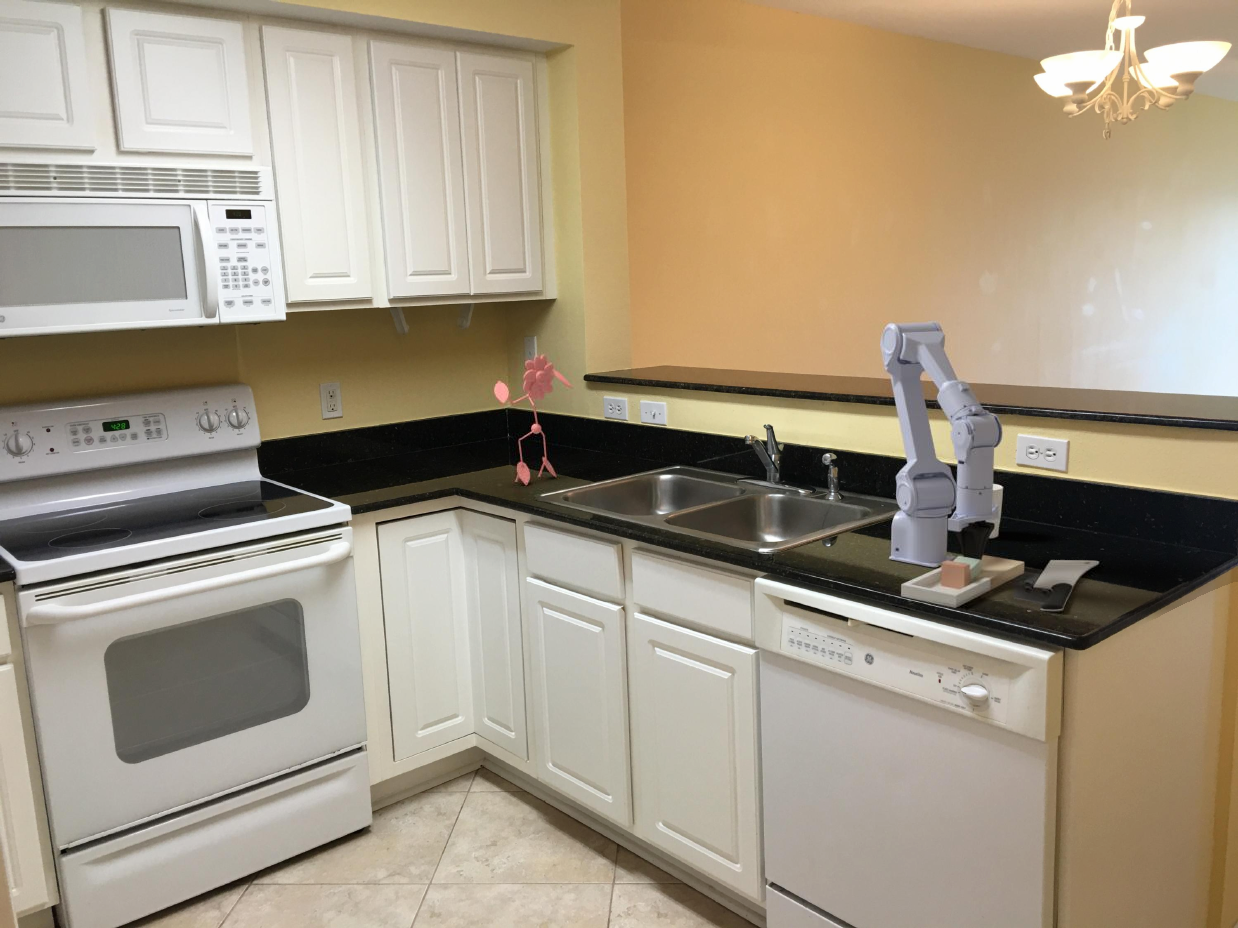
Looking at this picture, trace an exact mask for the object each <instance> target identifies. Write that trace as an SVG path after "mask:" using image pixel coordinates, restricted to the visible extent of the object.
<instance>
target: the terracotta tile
mask: <svg viewBox="0 0 1238 928" xmlns="http://www.w3.org/2000/svg"><path fill="white" fill-rule="evenodd" d="M940 567H941V586H944V587H949V588H954V589H959V590H960V589H962V588H964V587H966V586H968V585H969V581H970V564H966V563H960V562H955V561H953V560H952V561H949V560H947V561H944V562H942V564H941V565H940Z"/></svg>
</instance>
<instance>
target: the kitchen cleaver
mask: <svg viewBox="0 0 1238 928" xmlns="http://www.w3.org/2000/svg"><path fill="white" fill-rule="evenodd" d="M1099 564H1100V561H1098V560H1087V559H1086V560H1085V559H1084V560H1083V559H1082V560H1077V559H1075V560H1074V559H1073V560H1070V559H1069V560H1068V559H1067V560H1065V559H1060V560H1059V559H1058V560H1057V559H1056V560H1055V559H1050V560H1049V562H1048V564H1047V565H1046V567H1045V568H1044V570H1043V571H1042V572H1041V574H1040V576H1039V577H1038V579H1037V580H1036V581H1035V583H1034V585H1033V588H1037V589H1038V588H1039V589H1043V590H1049V591H1050V590H1051V594H1050V595H1049V597H1048V598H1047V600H1046V601H1045V602H1044V603H1043V604H1042V605H1041V606H1040V611H1041V612H1043V613H1047V614H1048V613H1049V614H1061V613H1062V612H1064V609H1065V606H1066V604H1067V602H1068V600H1069V598H1070V596H1071V594H1072V592H1073V589H1074V586H1075V585H1076V583H1077V581H1079V579H1080V578H1081V577H1082V576H1083V575H1084V574H1085V573H1087V571H1089V570H1091V569H1092V568H1094V567H1096V566H1098V565H1099Z"/></svg>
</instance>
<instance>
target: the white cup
mask: <svg viewBox="0 0 1238 928" xmlns="http://www.w3.org/2000/svg"><path fill="white" fill-rule="evenodd" d="M1003 491H1004V486H1002V485H1000V484H998V483H997V484H996V483H993V500H992V504H993V505H999V518H997V519H995V520H991V519H988V520H986V522H991V523H994V524H995V528H994V530H993V531H992V533H991V534H990V536H989V538H988V539H995V538H997V537H999V529H1000V528H999V527H1000V522H1001V515H1002V505H1003V494H1004V493H1003Z"/></svg>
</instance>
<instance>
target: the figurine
mask: <svg viewBox="0 0 1238 928" xmlns="http://www.w3.org/2000/svg"><path fill="white" fill-rule="evenodd" d="M524 363H525V364H524V366H525V369H526V370H527V371H526V372H525V373H524V375H523V380H524V383H523V386H522V391H523V392H524V393H527V394H526V395H524V396H522V397H520V398H519V399H516V400H514V401H513V400H512V398H511V396H510V395H509V393H510V392H509V388H508V386H507V385H506V384H505V383H504V382H502V381H501V380H498V381H497V383H495V385H494V389H493V390H494V391H493V393H494V395H495V397H496V399H497V400H498V401H499V402H500V403H502V404H503V405H504V404H505V403H506V402H507V400H509V402H510V404H511V405H515V404H516V403H518V402H520V401H522V400H524V399H526V398H527V399H529V401H530V403H531V405H532V407H533V413H534V418H535V423H533V424H532V426H531V429H530V430H531V431H530V432H529V433H527V434H526V435H524V436H523V437H521V438H519V439H518V447H519V454H520V455H519V456H520V461H519V462H518V463H517V465H516V472H517V475H516V478H515V481H514V483H515V482H517V483H518V480H519V479H520V480H521V482H522V483H523V484H524V485H525V486H527V485H528V484H529V481H530V479H531V473H530V469H529V467H528V466H527V464H526V463H525V462H524V461H523V456H522V447H521V440H523V439H525V438H526V437H529V436H530V435H531V434H532V433H533V434H536V435H537V434H539V433H541V435H542V437H543V448H544V449H543V450H544V456H542V462H543V463H542V465H541V467H540V471H539V473H538V476H537V478H538V477H540V478H541V476H542V473H543V470H544V467H545V468H546V469H547V470H548V471H549V472H550V474H551V475H553V477H554V478H557V475H556V472H555V470H554V468H553V466H552V464H551V463H550V462H549V460H548V459H547V450H546V449H547V447H546V438H545V437H546V435H545V434H544V432H543V431H542V426H541V425H540V424H539V422H538V417H537V410H536V406H535V404H534V401H536V400H537V399H539V400H540V401H543V400H544V398H545V396H546V395H545V394H550V393H552V392H553V391H554V389H553V385H552V382H553V380H554V379H555V376H556V377H557V378H558V380H559V381H560V382H562V383H563V384H564V385H565V386H566V387H568V388H569V389H570V388H571V389H573V386H572V385H571V383H570V382H569V381H568V379H567V378H565V377H564V375H563V374H561V373H560V372H558V370H556V369H554V363H552V362H550V363H548V359H547V355H546V354H542V355H541V356H539V355H535V356H534V358H533V360H529V359H528V360H527V361H525V362H524ZM554 375H555V376H554ZM497 486H500V487H501V486H502V485H501V484H497Z"/></svg>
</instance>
